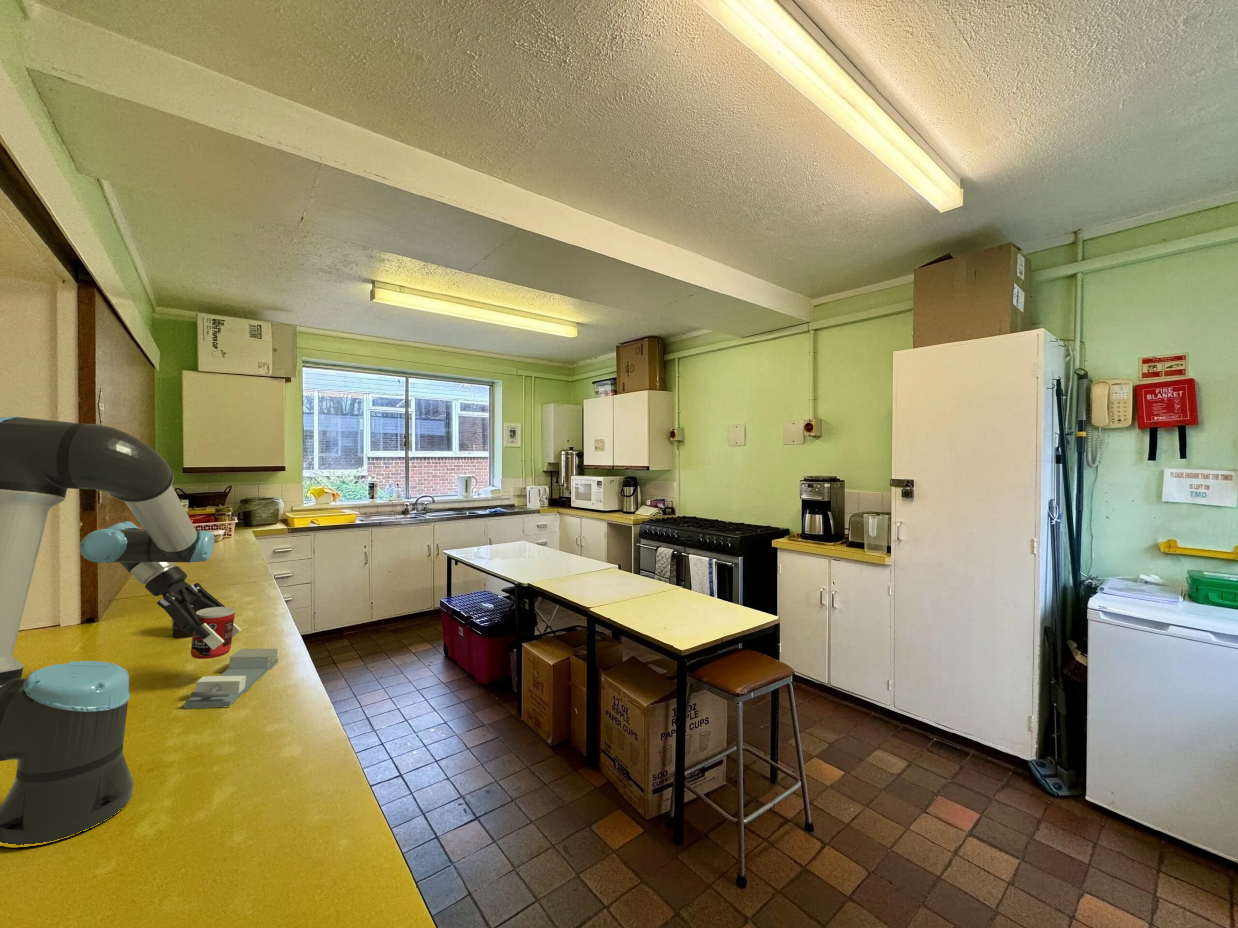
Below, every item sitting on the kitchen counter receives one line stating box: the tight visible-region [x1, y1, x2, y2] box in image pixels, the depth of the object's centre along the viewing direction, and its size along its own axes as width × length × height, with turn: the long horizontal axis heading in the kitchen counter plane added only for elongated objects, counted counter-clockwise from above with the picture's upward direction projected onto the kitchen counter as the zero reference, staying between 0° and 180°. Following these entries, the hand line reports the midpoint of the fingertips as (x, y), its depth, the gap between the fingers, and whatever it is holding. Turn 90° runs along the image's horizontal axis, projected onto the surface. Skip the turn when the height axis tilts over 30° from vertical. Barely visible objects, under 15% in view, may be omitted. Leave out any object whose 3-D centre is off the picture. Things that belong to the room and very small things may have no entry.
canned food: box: [190, 606, 236, 660], centre depth 126 cm, size 8×8×11 cm
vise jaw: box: [228, 648, 278, 669], centre depth 135 cm, size 6×9×3 cm, turn 104°
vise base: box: [183, 657, 279, 710], centre depth 126 cm, size 26×9×4 cm, turn 14°
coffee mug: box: [171, 605, 199, 639], centre depth 153 cm, size 12×9×10 cm
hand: (227, 639), depth 127 cm, fingers closed on canned food, 8 cm apart
